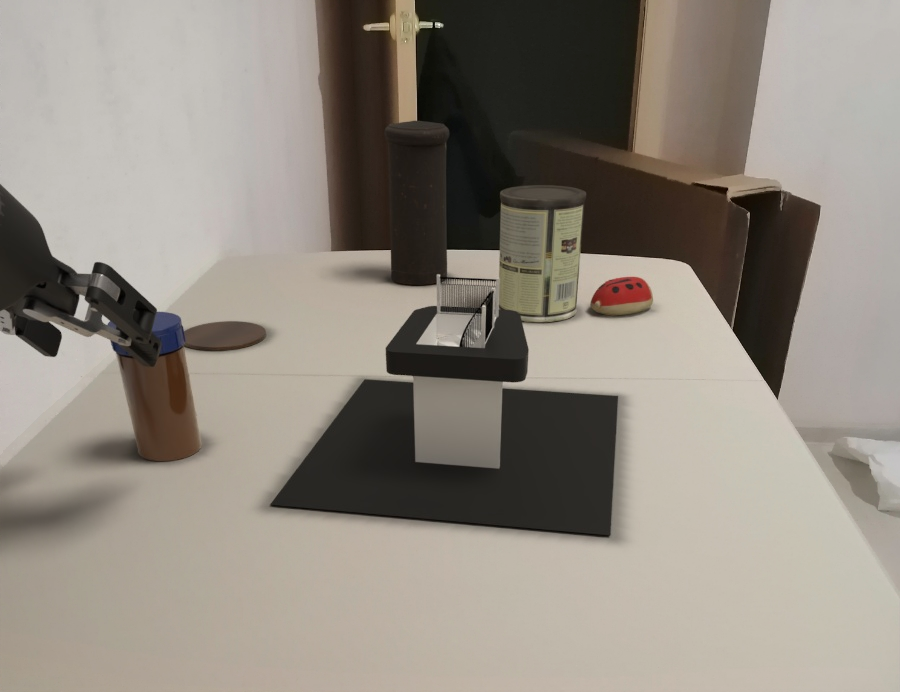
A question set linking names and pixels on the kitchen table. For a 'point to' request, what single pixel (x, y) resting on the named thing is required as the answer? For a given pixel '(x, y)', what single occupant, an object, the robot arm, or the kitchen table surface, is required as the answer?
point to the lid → (162, 333)
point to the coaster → (224, 335)
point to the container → (417, 201)
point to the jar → (161, 406)
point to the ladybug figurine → (622, 296)
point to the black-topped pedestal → (464, 432)
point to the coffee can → (540, 251)
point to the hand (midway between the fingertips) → (103, 350)
